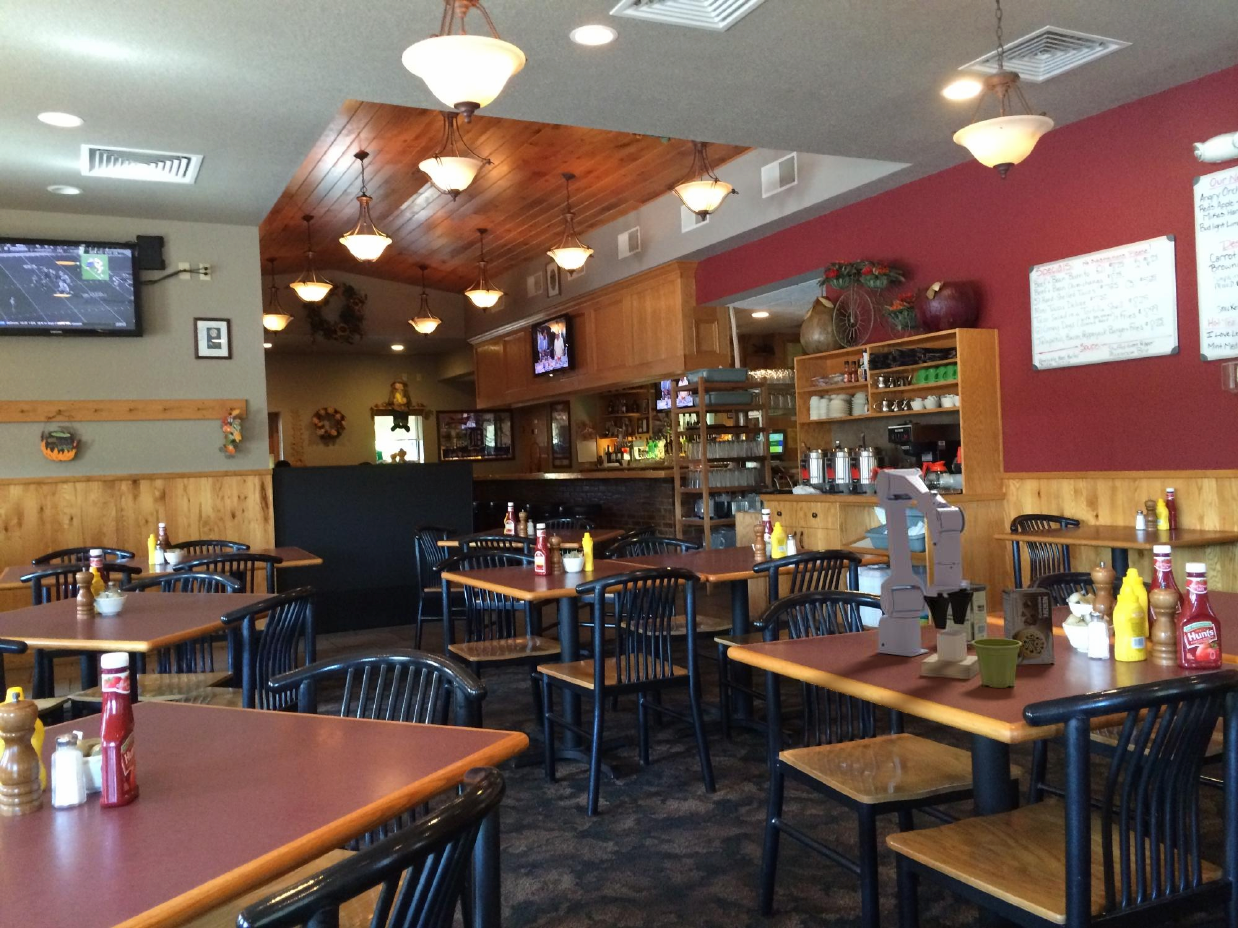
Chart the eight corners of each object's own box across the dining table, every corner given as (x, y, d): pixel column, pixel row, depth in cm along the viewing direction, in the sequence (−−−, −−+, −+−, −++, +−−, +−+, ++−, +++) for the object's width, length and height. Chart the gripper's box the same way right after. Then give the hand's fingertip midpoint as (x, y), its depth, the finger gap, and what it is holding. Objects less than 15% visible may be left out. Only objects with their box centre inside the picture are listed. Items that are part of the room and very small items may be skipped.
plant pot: (1025, 690, 195) (1023, 646, 195) (974, 689, 198) (972, 645, 198) (1020, 680, 204) (1019, 638, 204) (972, 679, 207) (970, 637, 207)
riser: (921, 675, 212) (921, 661, 212) (934, 666, 221) (934, 653, 221) (970, 679, 207) (969, 664, 207) (981, 670, 215) (981, 656, 215)
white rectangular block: (937, 659, 214) (936, 631, 214) (948, 656, 217) (947, 628, 217) (956, 661, 210) (955, 633, 211) (967, 658, 213) (966, 630, 213)
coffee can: (950, 636, 258) (948, 582, 258) (992, 638, 253) (989, 583, 253) (940, 643, 249) (937, 586, 250) (982, 645, 244) (980, 588, 244)
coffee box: (1045, 658, 225) (1042, 587, 225) (1055, 664, 219) (1052, 590, 219) (1004, 659, 226) (1001, 588, 226) (1012, 664, 220) (1009, 591, 220)
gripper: (946, 567, 206) (949, 632, 206) (981, 561, 216) (984, 623, 216) (916, 565, 211) (919, 629, 211) (952, 559, 221) (954, 620, 221)
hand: (950, 626), depth 214 cm, fingers open, 7 cm apart
